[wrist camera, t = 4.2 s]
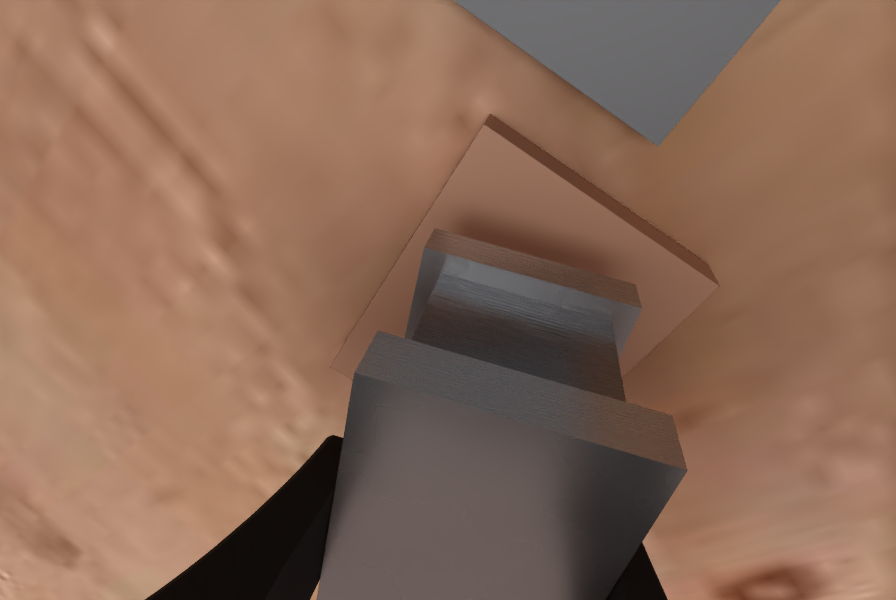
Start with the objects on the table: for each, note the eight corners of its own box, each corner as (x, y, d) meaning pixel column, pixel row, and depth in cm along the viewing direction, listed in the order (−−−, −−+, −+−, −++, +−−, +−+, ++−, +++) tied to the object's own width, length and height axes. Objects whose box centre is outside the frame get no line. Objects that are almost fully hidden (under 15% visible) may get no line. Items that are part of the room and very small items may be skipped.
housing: (635, 284, 13) (687, 470, 8) (546, 481, 16) (541, 701, 11) (434, 227, 13) (354, 372, 8) (388, 434, 17) (311, 628, 11)
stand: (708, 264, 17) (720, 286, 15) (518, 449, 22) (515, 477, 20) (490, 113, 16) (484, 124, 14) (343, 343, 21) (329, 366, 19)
